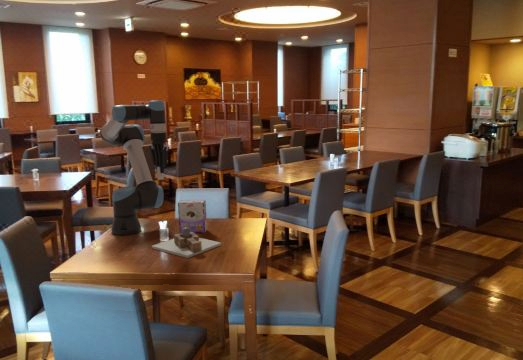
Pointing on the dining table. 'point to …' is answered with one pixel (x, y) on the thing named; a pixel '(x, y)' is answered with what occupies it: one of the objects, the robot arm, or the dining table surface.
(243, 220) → the dining table surface
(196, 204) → the candy box
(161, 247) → the post board
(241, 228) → the dining table surface
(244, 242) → the dining table surface
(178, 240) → the wooden frame with handle
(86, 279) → the dining table surface
